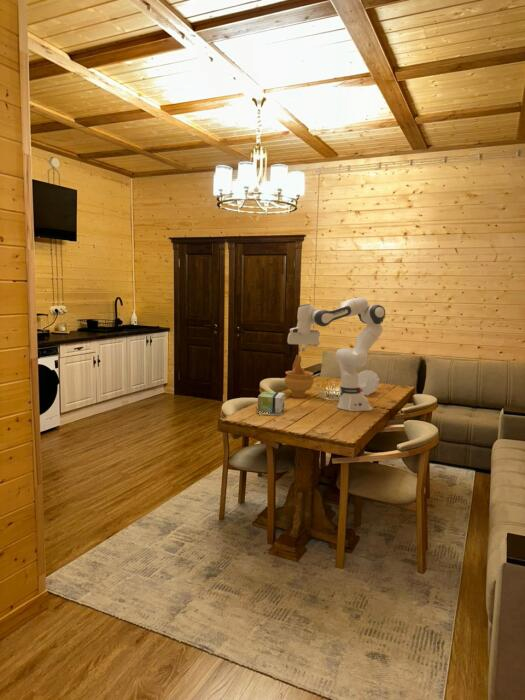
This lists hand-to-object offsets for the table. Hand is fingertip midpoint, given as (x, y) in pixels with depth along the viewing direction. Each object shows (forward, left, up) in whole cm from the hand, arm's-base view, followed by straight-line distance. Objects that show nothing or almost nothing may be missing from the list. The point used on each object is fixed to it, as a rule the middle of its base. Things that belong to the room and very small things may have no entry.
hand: (302, 351), depth 307 cm
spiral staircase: (-57, -48, -37) cm, 83 cm away
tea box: (+13, +9, -32) cm, 35 cm away
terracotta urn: (-4, -37, -37) cm, 53 cm away
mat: (+21, +10, -37) cm, 44 cm away
